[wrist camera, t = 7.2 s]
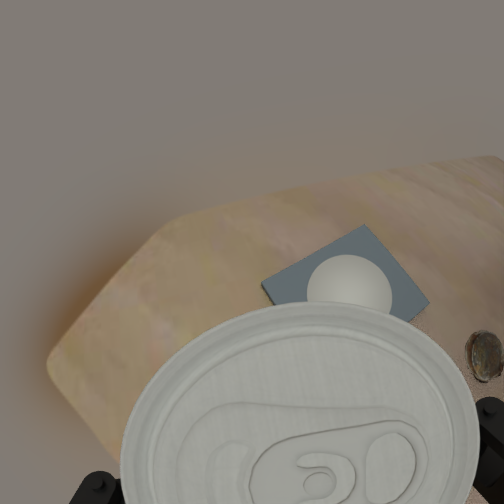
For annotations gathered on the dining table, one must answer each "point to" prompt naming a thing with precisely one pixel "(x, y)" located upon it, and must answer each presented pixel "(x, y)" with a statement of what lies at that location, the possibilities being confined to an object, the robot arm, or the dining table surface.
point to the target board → (350, 278)
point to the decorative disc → (484, 355)
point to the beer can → (304, 415)
